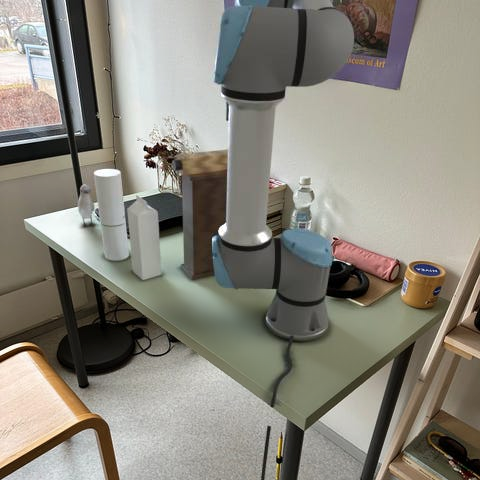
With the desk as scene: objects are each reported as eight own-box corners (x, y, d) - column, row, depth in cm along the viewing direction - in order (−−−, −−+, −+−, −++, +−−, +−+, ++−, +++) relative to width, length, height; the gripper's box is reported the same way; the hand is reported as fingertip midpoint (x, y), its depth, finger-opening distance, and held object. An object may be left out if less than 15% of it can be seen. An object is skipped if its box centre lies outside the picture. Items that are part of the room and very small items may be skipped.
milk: (142, 280, 131) (135, 204, 118) (132, 271, 135) (125, 197, 122) (162, 274, 134) (157, 199, 121) (151, 266, 138) (146, 192, 125)
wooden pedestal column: (217, 260, 143) (219, 163, 126) (229, 271, 137) (233, 171, 121) (180, 268, 138) (177, 168, 121) (192, 280, 132) (190, 177, 116)
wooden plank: (251, 162, 129) (252, 146, 127) (259, 166, 126) (260, 150, 124) (170, 171, 119) (170, 155, 117) (177, 176, 116) (176, 159, 114)
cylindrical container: (131, 251, 145) (124, 169, 131) (124, 261, 139) (115, 177, 125) (109, 249, 146) (99, 168, 132) (101, 259, 140) (89, 175, 126)
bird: (86, 234, 154) (79, 189, 146) (76, 219, 164) (69, 176, 155) (101, 231, 156) (95, 187, 148) (90, 217, 166) (84, 175, 158)
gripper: (290, 44, 116) (282, 134, 128) (232, 34, 132) (230, 115, 144) (266, 44, 112) (260, 137, 124) (209, 34, 128) (209, 117, 140)
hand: (244, 125), depth 134 cm, fingers open, 13 cm apart
